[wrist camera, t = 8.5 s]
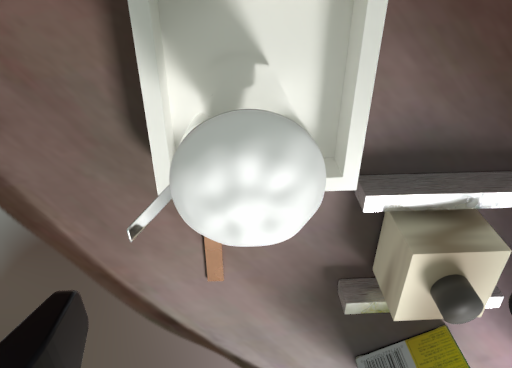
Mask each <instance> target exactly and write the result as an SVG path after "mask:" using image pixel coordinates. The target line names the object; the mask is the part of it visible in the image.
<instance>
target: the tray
mask: <svg viewBox="0 0 512 368" xmlns="http://www.w3.org/2000/svg"><path fill="white" fill-rule="evenodd" d="M387 4H388V0H128V6H129V13H130V19H131V26H132V32H133V38H134V45H135V51H136V58H137V64H138V71H139V77H140V83H141V90H142V96H143V103H144V109H145V116H146V122H147V128H148V135H149V141H150V148H151V154H152V161H153V167H154V173H155V180H156V186H157V193H158V196H159V195H160V194H161V193H162V192H163V190H164V189H165V188H166V187H167V186H168V185H169V184H170V183H169V175H170V167H171V162H172V159H173V156H174V154H175V152H176V150H177V148H178V146H179V144H180V142H181V140H182V138H183V135H184V133H185V131H186V129H187V126H188V124H189V122H190V120H191V118H192V115H193V113H194V111H195V108H196V105H197V103H198V100H199V97H200V95H201V92H202V89H203V86H204V84H205V81H206V78H207V75H208V72H209V70H210V69H211V68H212V67H213V66H215V65H216V64H217V63H218V62H219V61H221V60H222V59H223V58H224V57H225V56H227V55H231V54H253V55H254V56H255V57H257V58H258V59H260V60H261V61H263V62H264V63H266V64H268V65H269V66H270V67H271V68H272V70H273V72H274V74H275V75H276V77H277V79H278V81H279V83H280V85H281V86H282V88H283V90H284V92H285V94H286V95H287V97H288V99H289V101H290V103H291V105H292V106H293V108H294V110H295V111H296V113H297V114H298V116H299V117H300V119H301V121H302V122H303V124H304V125H305V127H306V128H307V130H308V131H309V133H310V134H311V136H312V138H313V139H314V141H315V142H316V144H317V145H318V147H319V149H320V151H321V153H322V156H323V159H324V163H325V168H326V186H325V191H343V190H356V189H357V183H358V177H359V171H360V165H361V159H362V153H363V147H364V141H365V135H366V129H367V123H368V117H369V111H370V105H371V100H372V94H373V88H374V82H375V76H376V70H377V64H378V58H379V52H380V46H381V40H382V34H383V28H384V22H385V16H386V10H387Z"/></svg>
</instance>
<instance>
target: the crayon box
mask: <svg viewBox="0 0 512 368" xmlns="http://www.w3.org/2000/svg"><path fill="white" fill-rule="evenodd" d="M356 364H357V367H358V368H470V367H469V365H468V363H467V361H466V359H465V358H464V356H463V354H462V352H461V350H460V349H459V347H458V345H457V343H456V342H455V340H454V338H453V336H452V334H451V332H450V331H449V329H448V327H447V326H446V325H442V326H439V327H437V328H436V329H435V330H432V331H429V332H427V333H424V334H421V335H418V336H416V337H413V338H410V339H407V340H404V341H402V342H399V343H396V344H394V345H391V346H388V347H386V348H383V349H380V350H378V351H375V352H372V353H370V354H367V355H360V356H357V357H356Z"/></svg>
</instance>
